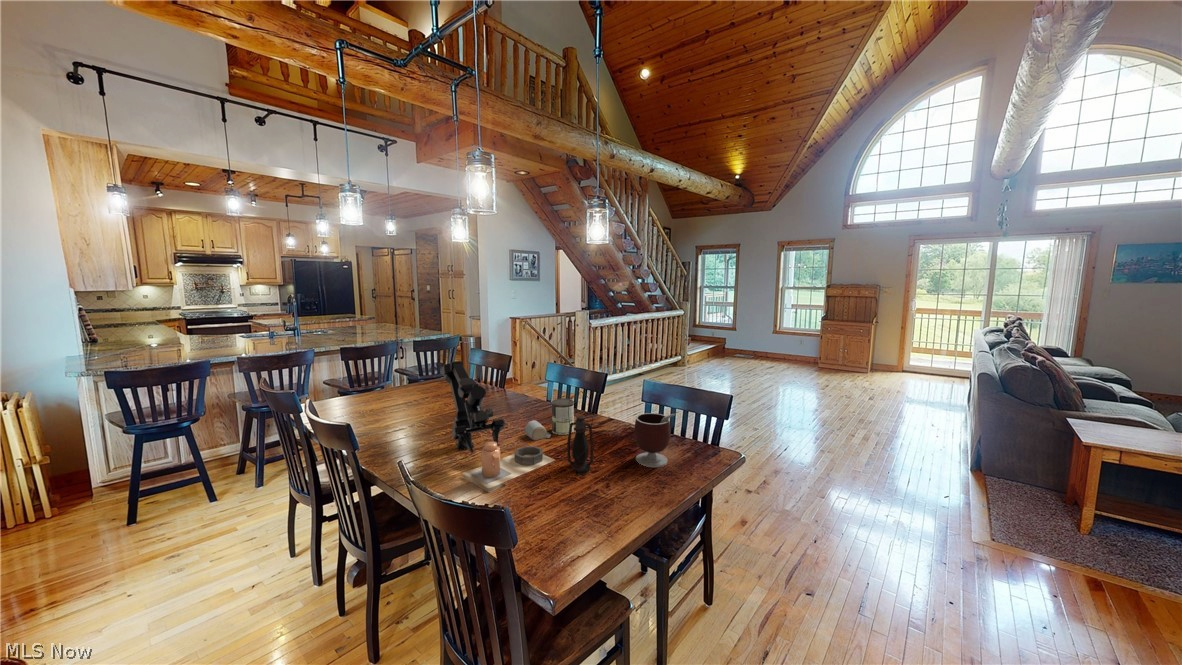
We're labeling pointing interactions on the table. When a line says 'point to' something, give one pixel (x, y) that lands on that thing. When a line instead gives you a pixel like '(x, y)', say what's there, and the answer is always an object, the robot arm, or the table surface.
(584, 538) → the table surface
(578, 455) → the lantern
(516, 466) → the board
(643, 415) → the mate gourd
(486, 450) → the peach jug
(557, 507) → the table surface
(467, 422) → the robot arm
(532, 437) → the ceramic mug
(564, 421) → the coffee can
